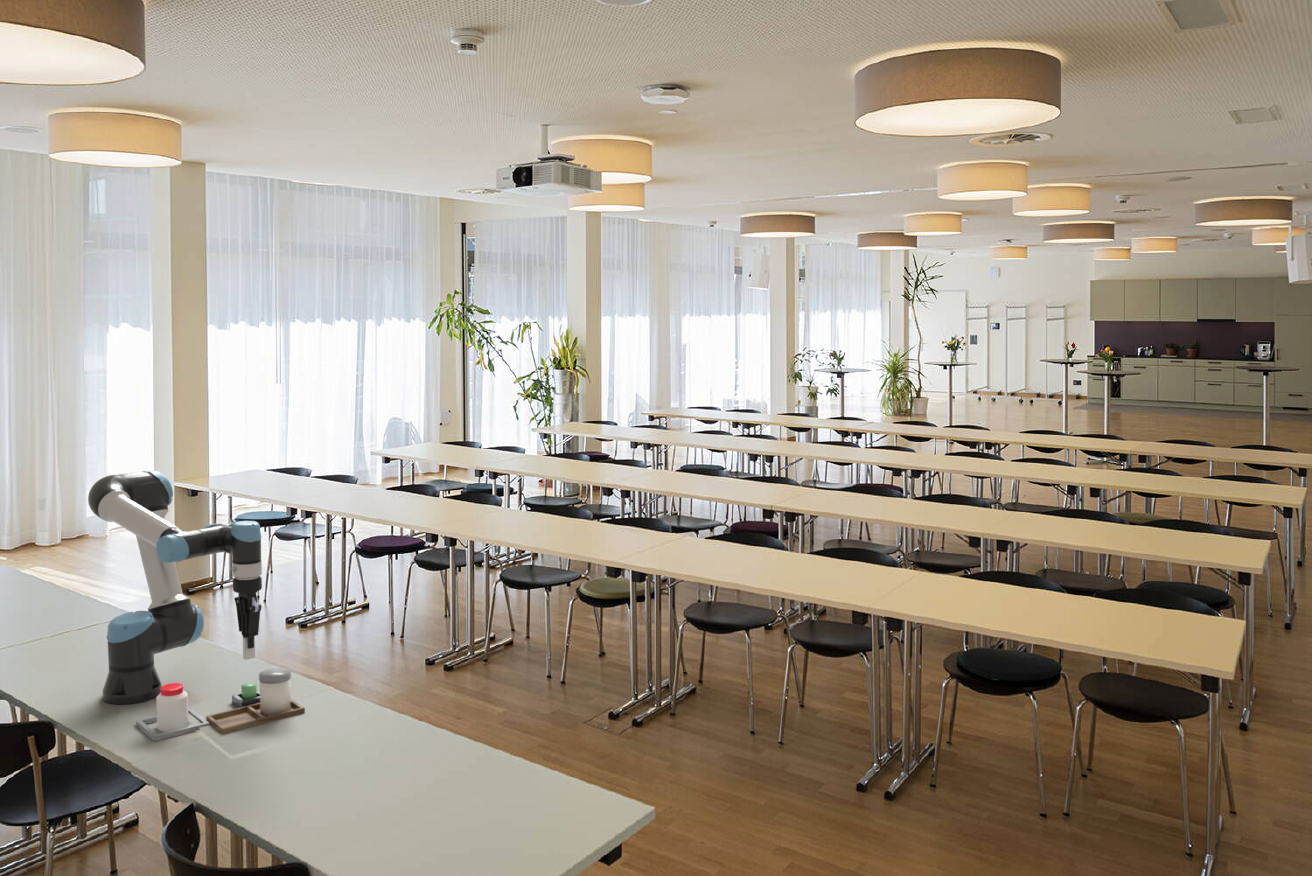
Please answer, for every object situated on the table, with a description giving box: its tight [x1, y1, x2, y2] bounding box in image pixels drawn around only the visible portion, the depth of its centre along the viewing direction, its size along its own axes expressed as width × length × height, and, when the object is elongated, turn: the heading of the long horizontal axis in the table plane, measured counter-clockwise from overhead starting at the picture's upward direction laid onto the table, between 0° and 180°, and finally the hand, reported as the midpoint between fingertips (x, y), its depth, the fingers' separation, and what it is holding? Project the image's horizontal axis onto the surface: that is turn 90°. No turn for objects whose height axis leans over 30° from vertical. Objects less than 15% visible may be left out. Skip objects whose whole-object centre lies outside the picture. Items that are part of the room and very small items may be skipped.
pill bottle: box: [155, 682, 190, 733], centre depth 267 cm, size 8×8×11 cm
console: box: [231, 689, 260, 708], centre depth 282 cm, size 7×7×3 cm
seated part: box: [258, 667, 292, 716], centre depth 276 cm, size 8×8×11 cm
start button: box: [240, 682, 258, 700], centre depth 282 cm, size 4×4×4 cm
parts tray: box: [135, 707, 211, 742], centre depth 267 cm, size 14×14×1 cm
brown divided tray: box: [205, 698, 306, 735], centre depth 273 cm, size 12×22×2 cm, turn 134°
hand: (249, 658), depth 281 cm, fingers closed
